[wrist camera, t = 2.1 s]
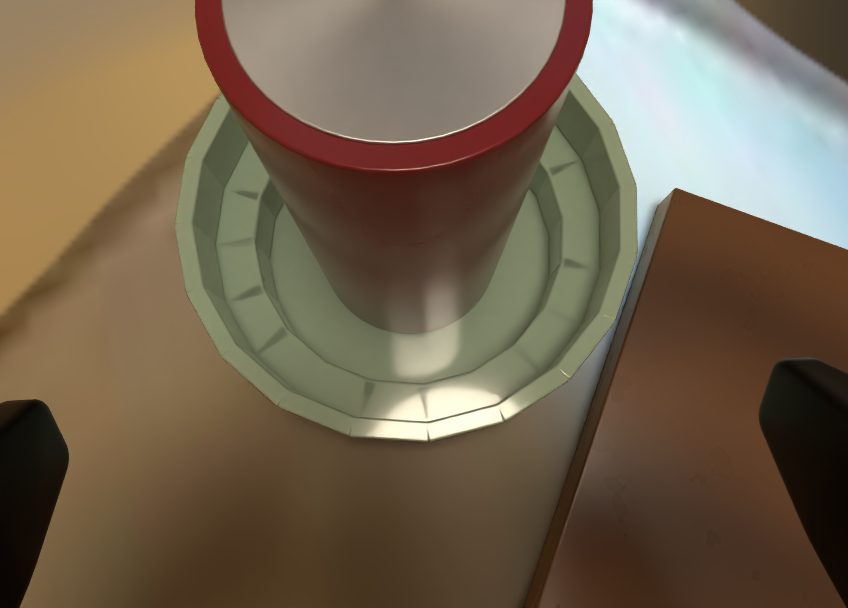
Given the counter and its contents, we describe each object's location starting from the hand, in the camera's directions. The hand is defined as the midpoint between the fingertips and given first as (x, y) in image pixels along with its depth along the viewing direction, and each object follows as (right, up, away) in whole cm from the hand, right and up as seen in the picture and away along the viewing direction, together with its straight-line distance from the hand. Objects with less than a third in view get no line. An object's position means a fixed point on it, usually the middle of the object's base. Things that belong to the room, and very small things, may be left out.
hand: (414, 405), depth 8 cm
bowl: (0, +3, +14) cm, 14 cm away
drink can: (0, +3, +13) cm, 13 cm away
